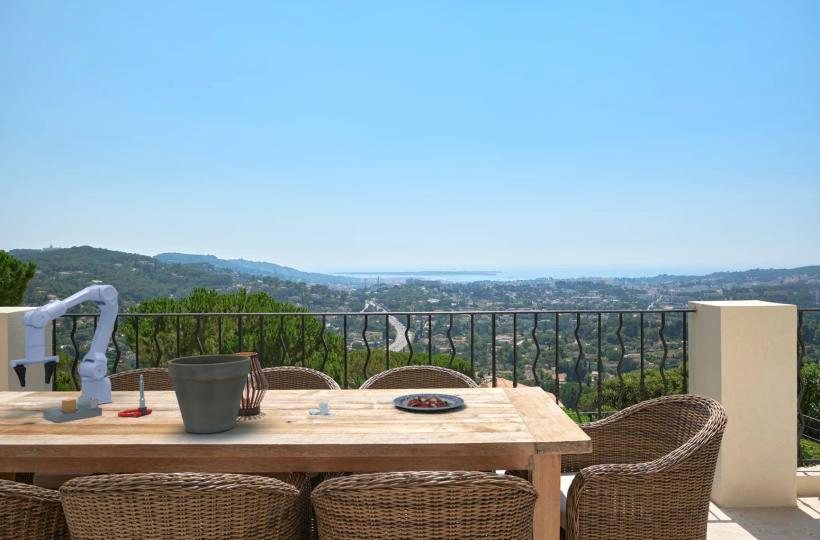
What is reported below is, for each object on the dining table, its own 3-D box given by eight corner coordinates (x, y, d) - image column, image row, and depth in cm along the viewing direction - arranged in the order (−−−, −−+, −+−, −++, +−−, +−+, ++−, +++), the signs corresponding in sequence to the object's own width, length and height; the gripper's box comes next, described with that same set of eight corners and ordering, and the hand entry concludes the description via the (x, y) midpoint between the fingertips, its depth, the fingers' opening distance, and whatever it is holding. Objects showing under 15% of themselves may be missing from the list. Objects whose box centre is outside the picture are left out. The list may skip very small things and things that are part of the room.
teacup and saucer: (305, 415, 213) (305, 403, 213) (323, 411, 219) (323, 399, 219) (321, 419, 207) (321, 407, 207) (339, 415, 213) (339, 403, 213)
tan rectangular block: (69, 416, 212) (69, 398, 212) (76, 417, 210) (76, 399, 210) (62, 418, 209) (61, 400, 209) (68, 419, 208) (68, 401, 208)
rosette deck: (86, 410, 221) (86, 393, 221) (101, 415, 213) (101, 397, 213) (43, 417, 210) (43, 399, 210) (57, 423, 202) (57, 404, 202)
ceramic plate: (380, 411, 218) (380, 403, 218) (408, 397, 242) (408, 389, 242) (451, 417, 209) (451, 408, 209) (472, 402, 233) (472, 394, 233)
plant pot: (186, 418, 208) (186, 353, 208) (260, 418, 207) (260, 353, 207) (153, 438, 183) (153, 364, 183) (237, 438, 182) (236, 364, 182)
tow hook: (111, 417, 212) (134, 418, 208) (110, 376, 212) (132, 376, 209) (132, 411, 220) (154, 412, 217) (131, 372, 221) (153, 372, 217)
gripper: (53, 342, 223) (53, 380, 223) (7, 346, 212) (7, 386, 212) (61, 344, 219) (61, 383, 219) (14, 348, 208) (14, 389, 208)
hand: (35, 385), depth 215 cm, fingers open, 7 cm apart
